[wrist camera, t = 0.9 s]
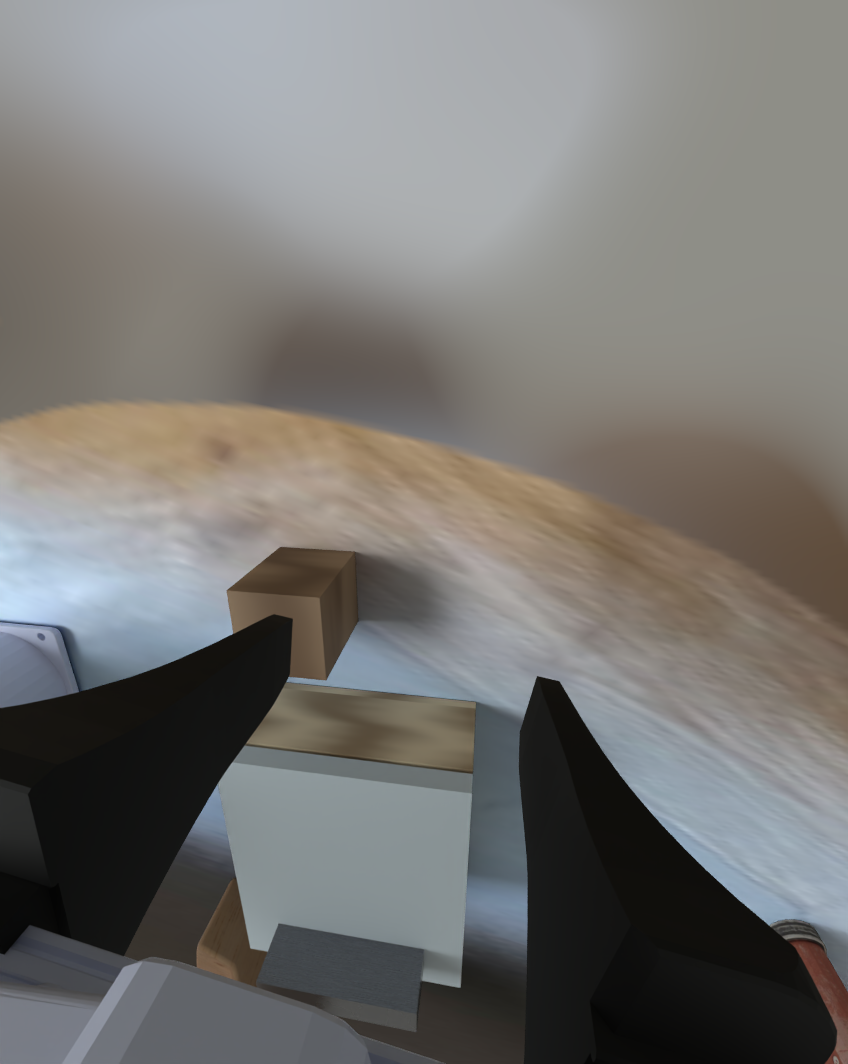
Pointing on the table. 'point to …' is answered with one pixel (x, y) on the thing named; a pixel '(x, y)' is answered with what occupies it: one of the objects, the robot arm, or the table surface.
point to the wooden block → (229, 942)
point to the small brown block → (302, 603)
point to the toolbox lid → (350, 878)
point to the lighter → (820, 978)
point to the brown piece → (371, 727)
